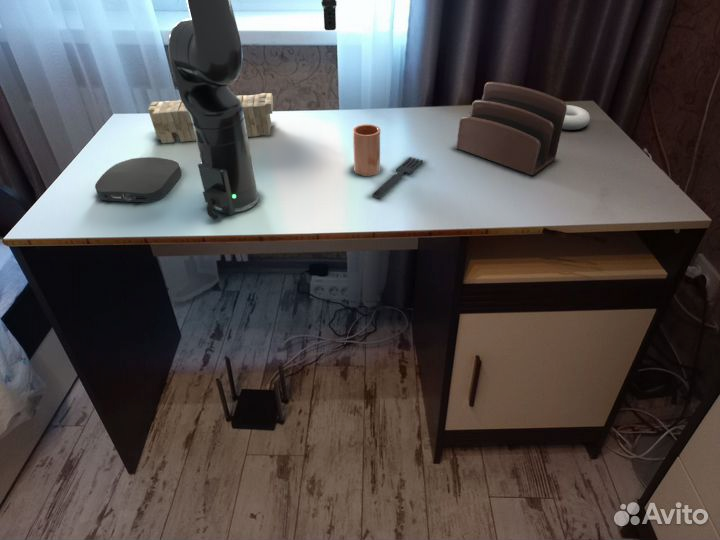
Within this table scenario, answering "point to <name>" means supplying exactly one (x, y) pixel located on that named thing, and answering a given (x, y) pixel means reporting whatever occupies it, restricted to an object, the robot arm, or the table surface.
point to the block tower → (177, 120)
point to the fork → (398, 176)
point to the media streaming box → (138, 180)
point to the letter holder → (513, 127)
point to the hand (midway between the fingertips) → (330, 24)
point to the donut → (575, 118)
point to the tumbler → (366, 149)
